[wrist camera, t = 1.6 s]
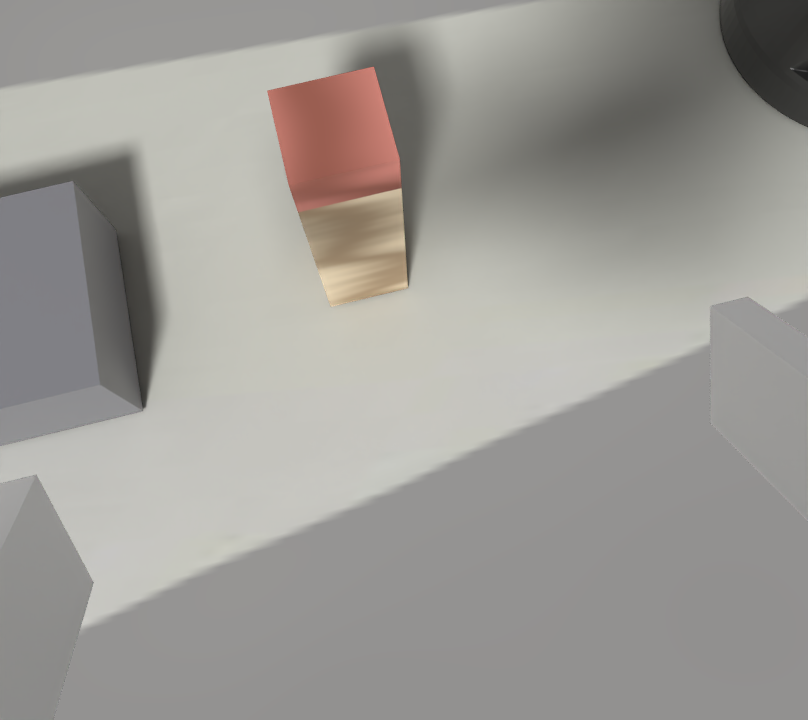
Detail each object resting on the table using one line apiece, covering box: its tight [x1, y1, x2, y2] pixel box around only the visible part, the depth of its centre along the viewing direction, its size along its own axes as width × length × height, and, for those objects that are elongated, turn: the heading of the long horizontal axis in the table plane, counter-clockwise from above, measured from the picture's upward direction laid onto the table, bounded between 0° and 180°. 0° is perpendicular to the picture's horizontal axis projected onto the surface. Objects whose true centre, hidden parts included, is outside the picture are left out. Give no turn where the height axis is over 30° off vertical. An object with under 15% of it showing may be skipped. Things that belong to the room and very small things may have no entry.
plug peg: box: [267, 67, 408, 307], centre depth 33 cm, size 4×4×12 cm
